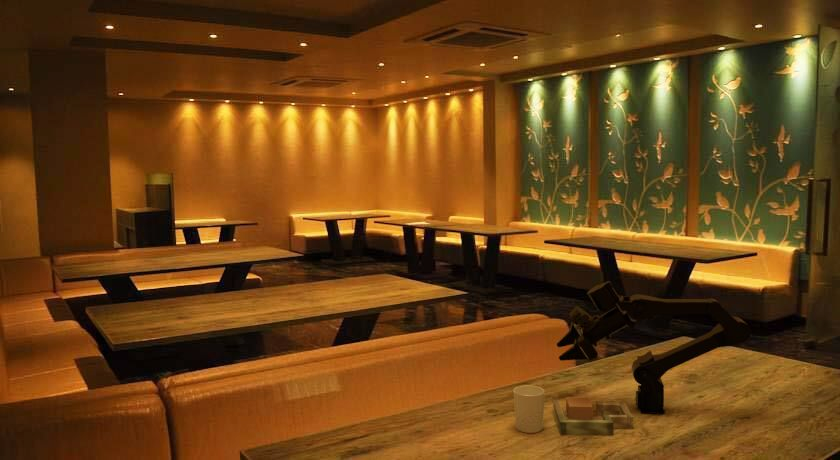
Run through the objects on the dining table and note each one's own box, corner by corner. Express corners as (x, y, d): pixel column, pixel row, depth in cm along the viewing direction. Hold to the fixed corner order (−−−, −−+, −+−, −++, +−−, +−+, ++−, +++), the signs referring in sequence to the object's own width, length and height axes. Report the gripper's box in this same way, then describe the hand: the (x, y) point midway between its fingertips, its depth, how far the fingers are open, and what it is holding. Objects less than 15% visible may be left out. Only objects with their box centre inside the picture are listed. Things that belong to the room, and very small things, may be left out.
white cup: (544, 435, 167) (544, 396, 166) (512, 433, 168) (512, 394, 167) (544, 423, 174) (544, 386, 173) (514, 421, 176) (514, 384, 175)
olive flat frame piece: (623, 411, 181) (623, 400, 181) (636, 435, 165) (637, 422, 165) (553, 411, 183) (553, 399, 182) (560, 434, 167) (560, 421, 167)
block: (588, 411, 182) (588, 397, 182) (592, 421, 175) (592, 406, 175) (566, 411, 183) (566, 397, 182) (569, 421, 176) (569, 406, 176)
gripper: (587, 290, 191) (541, 317, 194) (595, 312, 173) (544, 342, 176) (608, 321, 192) (562, 347, 196) (618, 346, 174) (566, 375, 178)
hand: (558, 352), depth 186 cm, fingers open, 9 cm apart
